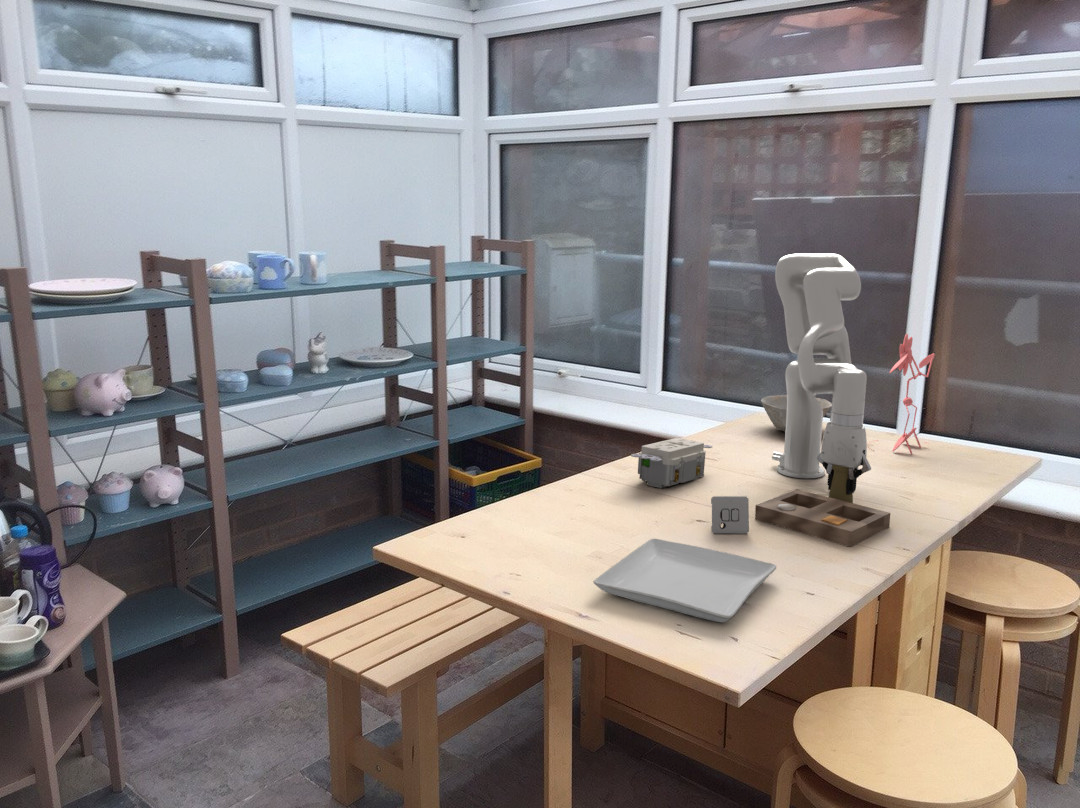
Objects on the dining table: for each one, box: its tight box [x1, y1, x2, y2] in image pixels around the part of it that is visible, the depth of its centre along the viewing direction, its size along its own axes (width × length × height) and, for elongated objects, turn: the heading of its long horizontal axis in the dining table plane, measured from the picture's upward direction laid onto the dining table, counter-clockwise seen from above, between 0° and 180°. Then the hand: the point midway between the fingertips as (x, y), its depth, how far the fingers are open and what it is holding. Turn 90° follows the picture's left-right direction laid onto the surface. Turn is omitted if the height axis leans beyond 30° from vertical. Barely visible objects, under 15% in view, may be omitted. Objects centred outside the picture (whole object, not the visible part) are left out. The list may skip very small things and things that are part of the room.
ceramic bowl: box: [761, 394, 832, 433], centre depth 294 cm, size 22×23×10 cm
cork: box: [828, 464, 854, 503], centre depth 224 cm, size 6×6×11 cm
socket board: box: [754, 488, 891, 548], centre depth 209 cm, size 24×18×4 cm
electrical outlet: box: [630, 437, 713, 489], centre depth 242 cm, size 12×28×10 cm, turn 140°
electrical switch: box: [710, 495, 750, 534], centre depth 204 cm, size 8×5×8 cm, turn 90°
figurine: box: [867, 333, 936, 455], centre depth 273 cm, size 15×26×35 cm, turn 142°
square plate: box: [592, 538, 777, 623], centre depth 174 cm, size 27×27×4 cm
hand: (841, 490), depth 225 cm, fingers closed on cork, 4 cm apart
